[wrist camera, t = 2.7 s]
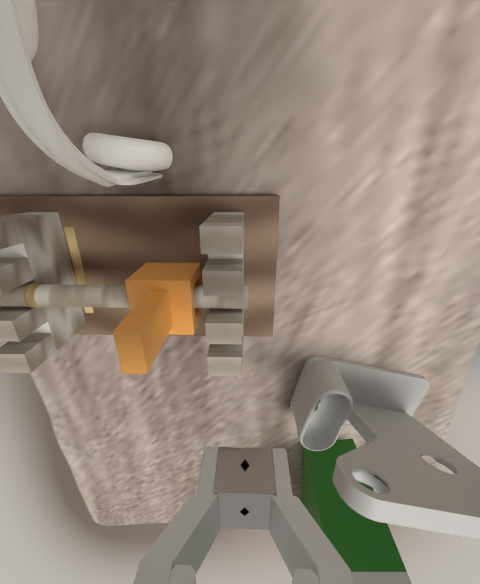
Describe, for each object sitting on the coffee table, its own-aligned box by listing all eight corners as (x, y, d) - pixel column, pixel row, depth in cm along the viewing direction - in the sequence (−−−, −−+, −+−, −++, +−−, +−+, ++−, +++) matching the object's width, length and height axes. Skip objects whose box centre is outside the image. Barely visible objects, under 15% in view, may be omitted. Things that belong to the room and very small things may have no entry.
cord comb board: (-6, 195, 29) (-136, 203, 19) (277, 195, 28) (294, 203, 18) (38, 327, 35) (-44, 384, 25) (271, 330, 34) (280, 390, 24)
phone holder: (285, 408, 39) (312, 578, 22) (306, 351, 35) (358, 505, 18) (398, 429, 40) (505, 607, 23) (431, 376, 36) (587, 543, 19)
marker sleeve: (146, 262, 25) (80, 317, 15) (199, 262, 25) (168, 318, 15) (153, 308, 27) (97, 384, 17) (202, 309, 27) (176, 385, 17)
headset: (183, 189, 28) (90, 202, 11) (114, 179, 28) (-80, 179, 11) (195, -94, 20) (-30, -1290, 4) (100, -110, 20) (-574, -1443, 4)
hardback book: (343, 510, 48) (426, 797, 26) (301, 510, 48) (347, 794, 26) (352, 439, 41) (477, 745, 19) (303, 440, 41) (368, 741, 19)
